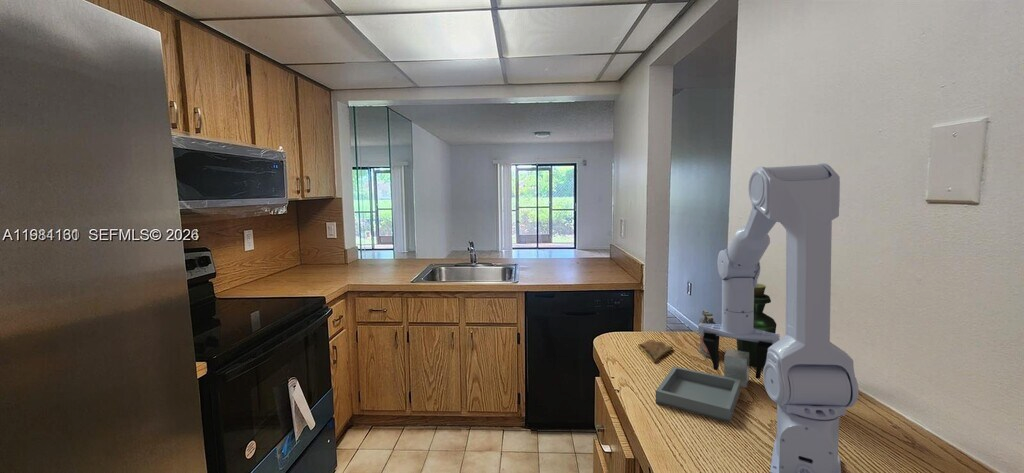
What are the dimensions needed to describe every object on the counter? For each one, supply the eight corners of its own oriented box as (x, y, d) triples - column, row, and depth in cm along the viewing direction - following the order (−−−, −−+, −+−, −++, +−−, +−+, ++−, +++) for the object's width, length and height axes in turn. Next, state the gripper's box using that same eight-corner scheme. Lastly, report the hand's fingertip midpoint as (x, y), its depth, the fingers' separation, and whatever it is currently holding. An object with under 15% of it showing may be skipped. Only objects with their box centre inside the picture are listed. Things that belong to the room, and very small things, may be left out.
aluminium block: (746, 387, 82) (746, 359, 81) (724, 382, 84) (724, 355, 83) (748, 379, 85) (749, 352, 84) (727, 375, 87) (727, 348, 86)
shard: (653, 365, 95) (653, 358, 94) (624, 357, 100) (624, 350, 100) (674, 351, 102) (674, 344, 102) (645, 344, 107) (645, 337, 107)
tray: (729, 423, 70) (729, 409, 70) (655, 403, 77) (655, 390, 77) (740, 392, 80) (740, 380, 80) (674, 377, 87) (673, 366, 87)
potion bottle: (768, 373, 87) (770, 291, 85) (728, 362, 93) (729, 286, 91) (780, 361, 92) (782, 284, 90) (742, 352, 98) (743, 279, 96)
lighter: (720, 359, 95) (720, 318, 94) (704, 358, 96) (705, 317, 95) (710, 346, 103) (710, 308, 102) (696, 345, 104) (696, 307, 103)
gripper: (781, 308, 81) (779, 372, 83) (703, 299, 90) (703, 358, 92) (778, 318, 76) (777, 387, 77) (695, 308, 84) (695, 370, 86)
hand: (736, 372), depth 84 cm, fingers open, 7 cm apart
